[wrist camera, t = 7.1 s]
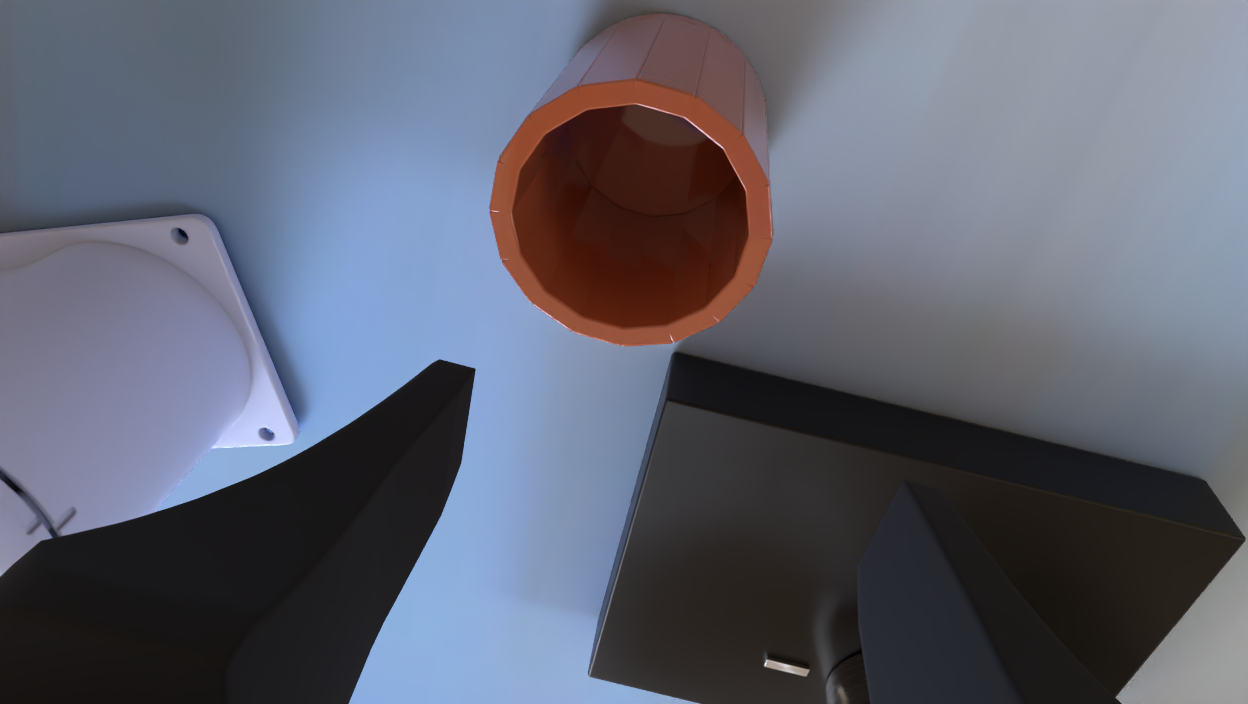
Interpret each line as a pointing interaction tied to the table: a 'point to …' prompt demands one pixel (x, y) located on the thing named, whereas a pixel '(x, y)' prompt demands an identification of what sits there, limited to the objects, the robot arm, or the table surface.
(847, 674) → the dial
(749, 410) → the warming plate
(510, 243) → the orange stave barrel
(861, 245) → the table surface
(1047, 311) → the table surface
